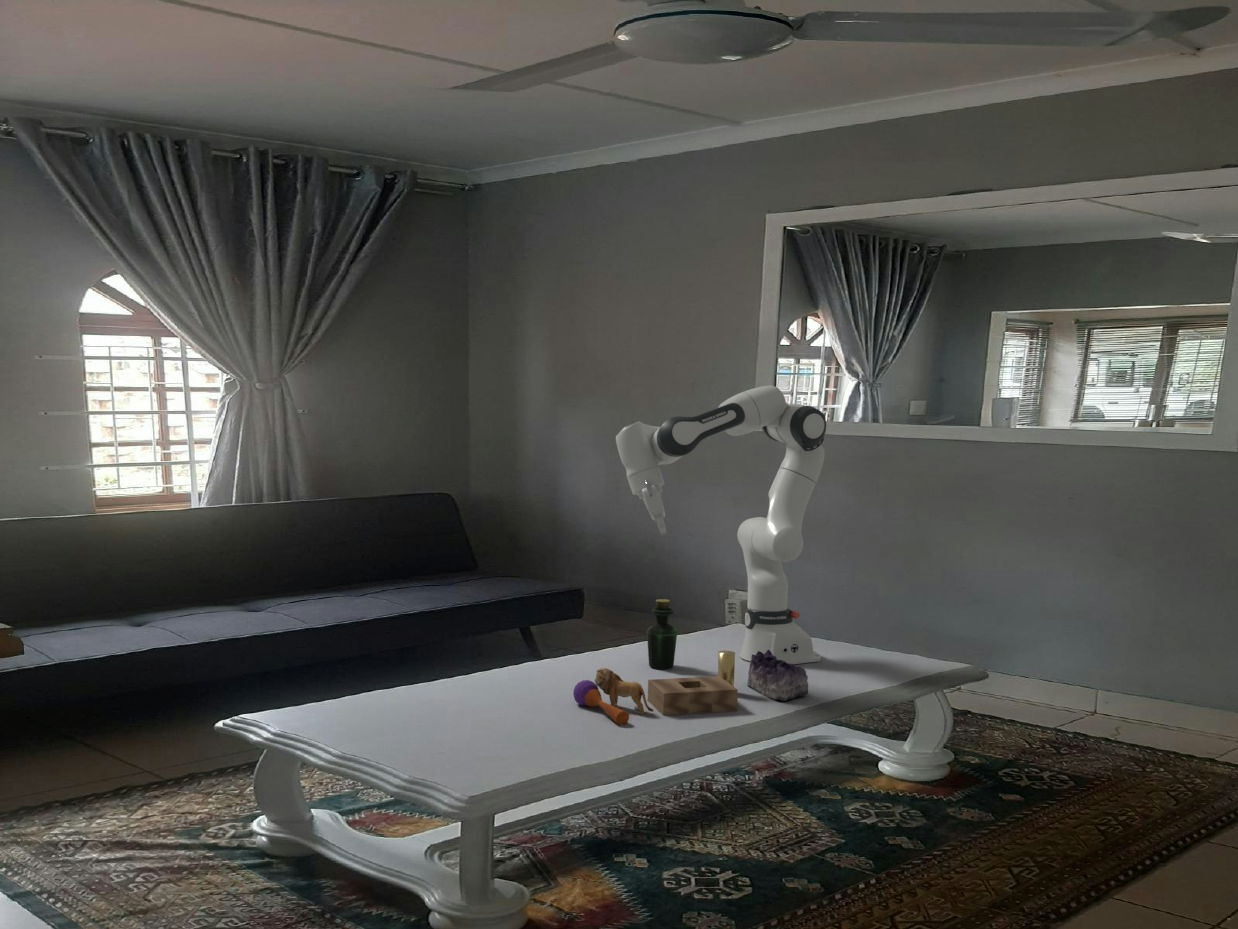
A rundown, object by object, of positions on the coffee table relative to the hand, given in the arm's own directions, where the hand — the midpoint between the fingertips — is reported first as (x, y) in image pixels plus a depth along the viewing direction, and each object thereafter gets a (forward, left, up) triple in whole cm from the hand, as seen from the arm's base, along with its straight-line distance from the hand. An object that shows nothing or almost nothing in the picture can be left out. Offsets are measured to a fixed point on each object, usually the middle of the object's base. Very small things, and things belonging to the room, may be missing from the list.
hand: (664, 533), depth 277 cm
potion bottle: (-3, -9, -37) cm, 38 cm away
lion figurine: (+18, +27, -37) cm, 50 cm away
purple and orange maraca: (+24, +29, -38) cm, 53 cm away
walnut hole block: (+1, +27, -37) cm, 46 cm away
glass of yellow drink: (-11, +18, -37) cm, 43 cm away
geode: (-23, +19, -38) cm, 48 cm away
